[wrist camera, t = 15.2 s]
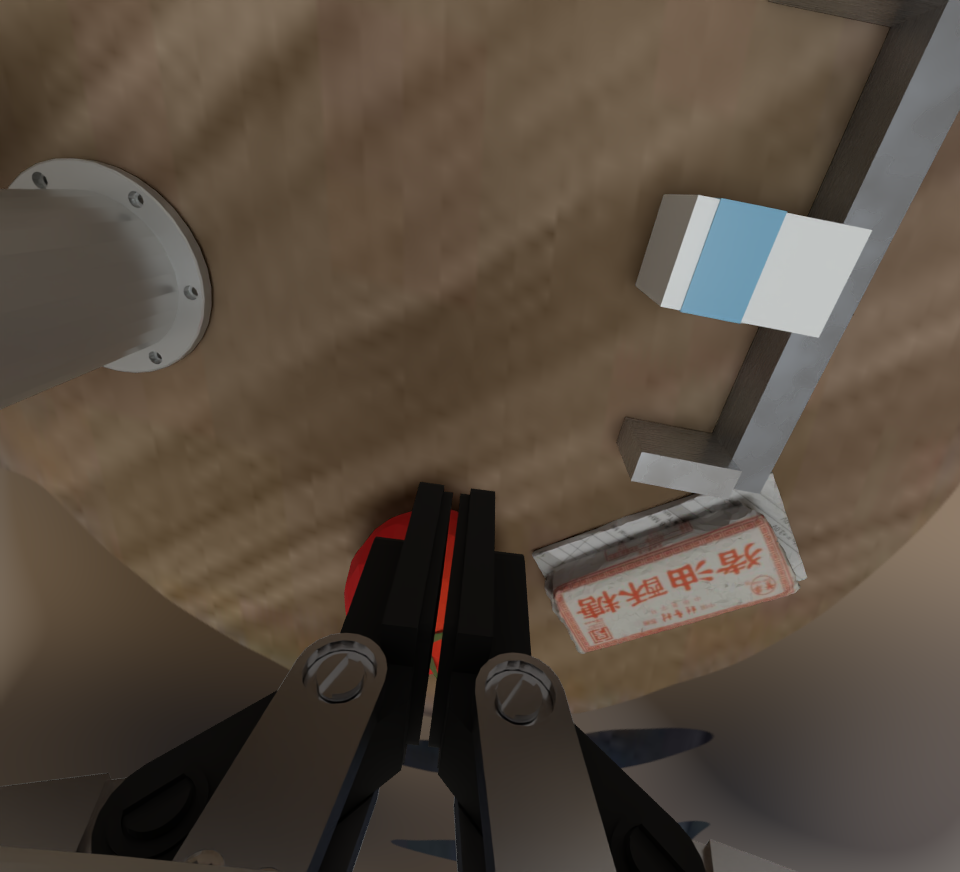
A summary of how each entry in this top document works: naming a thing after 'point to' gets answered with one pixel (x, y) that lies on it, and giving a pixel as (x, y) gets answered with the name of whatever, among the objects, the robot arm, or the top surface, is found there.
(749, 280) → the block
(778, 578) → the packaged product
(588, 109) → the top surface
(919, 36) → the rail
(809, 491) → the top surface
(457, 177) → the top surface
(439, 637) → the tomato
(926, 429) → the top surface
